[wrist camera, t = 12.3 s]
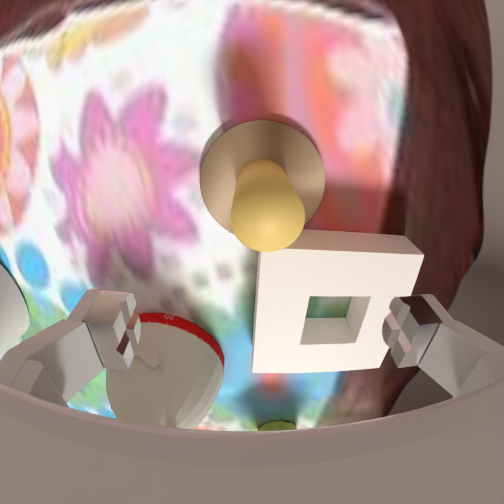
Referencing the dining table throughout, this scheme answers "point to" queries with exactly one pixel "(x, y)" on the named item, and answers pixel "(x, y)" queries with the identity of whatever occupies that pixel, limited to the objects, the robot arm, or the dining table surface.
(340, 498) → the robot arm
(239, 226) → the dowel
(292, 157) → the coaster
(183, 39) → the dining table surface
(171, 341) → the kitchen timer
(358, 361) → the pocket block
